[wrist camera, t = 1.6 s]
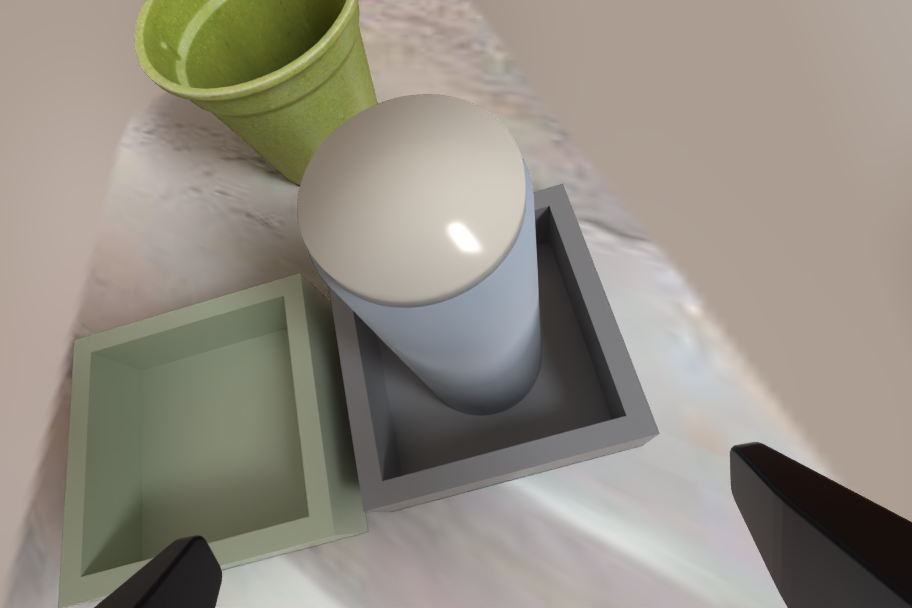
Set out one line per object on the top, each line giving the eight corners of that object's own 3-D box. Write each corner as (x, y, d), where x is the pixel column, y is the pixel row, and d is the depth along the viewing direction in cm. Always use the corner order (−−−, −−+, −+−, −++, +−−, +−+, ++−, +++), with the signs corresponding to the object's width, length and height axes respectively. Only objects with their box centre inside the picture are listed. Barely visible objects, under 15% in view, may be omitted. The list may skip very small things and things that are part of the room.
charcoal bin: (642, 445, 20) (659, 433, 17) (392, 511, 21) (363, 511, 18) (560, 227, 24) (562, 183, 21) (353, 288, 25) (323, 254, 22)
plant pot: (225, 212, 28) (94, 92, 20) (276, 73, 31) (181, -79, 23) (391, 225, 26) (321, 97, 18) (428, 75, 29) (382, -91, 21)
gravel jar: (557, 397, 21) (566, 257, 9) (437, 429, 21) (305, 333, 10) (522, 287, 23) (494, 60, 11) (412, 318, 23) (279, 129, 12)
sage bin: (368, 531, 21) (334, 535, 17) (132, 593, 21) (58, 608, 18) (332, 304, 25) (300, 272, 21) (134, 361, 25) (74, 339, 22)
